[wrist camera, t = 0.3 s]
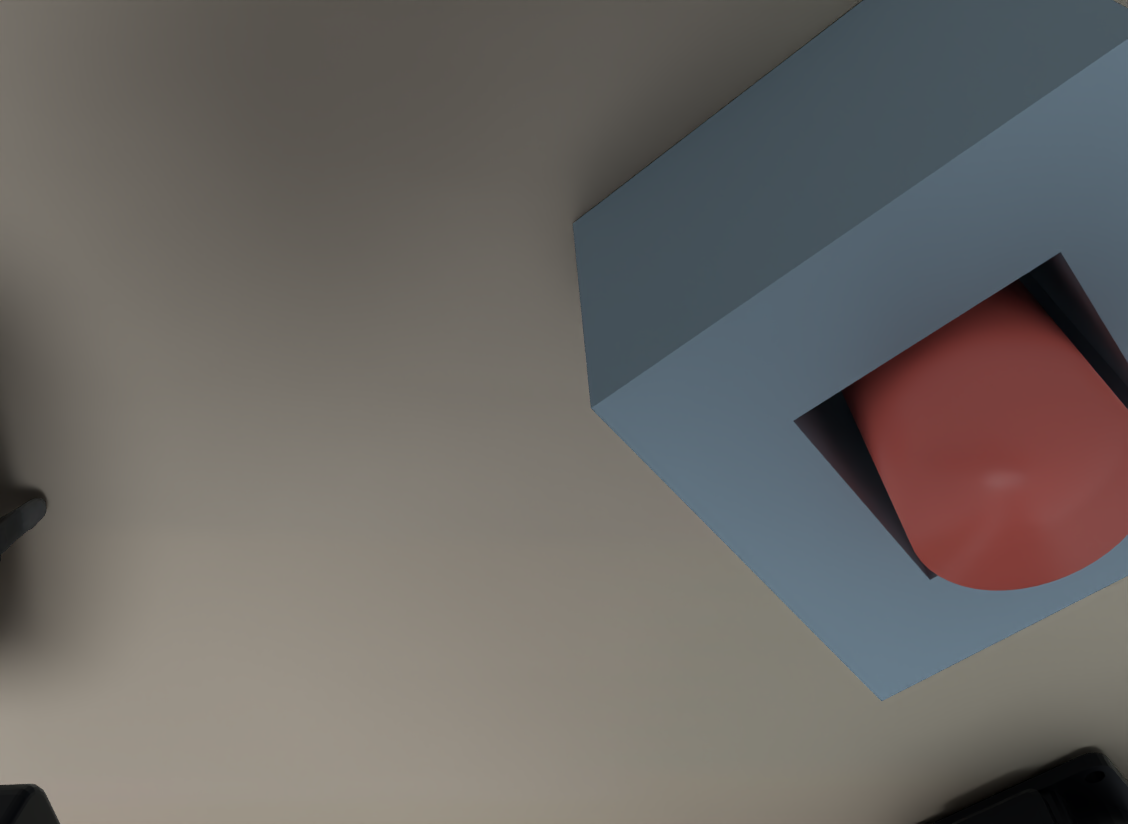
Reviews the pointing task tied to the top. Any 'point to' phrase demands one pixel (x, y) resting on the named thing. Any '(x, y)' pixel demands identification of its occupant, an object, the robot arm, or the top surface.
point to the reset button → (998, 447)
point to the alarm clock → (20, 522)
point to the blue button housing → (861, 292)
